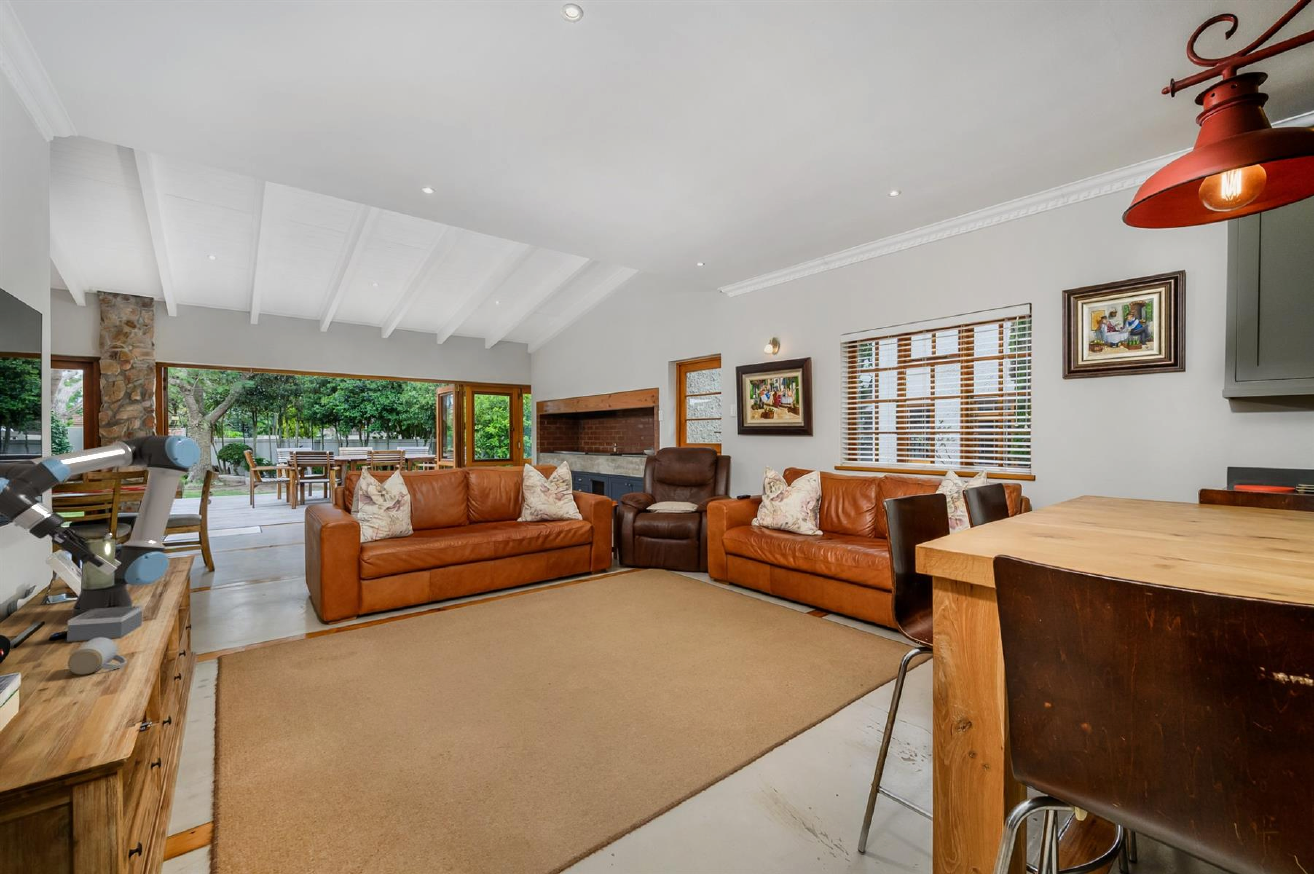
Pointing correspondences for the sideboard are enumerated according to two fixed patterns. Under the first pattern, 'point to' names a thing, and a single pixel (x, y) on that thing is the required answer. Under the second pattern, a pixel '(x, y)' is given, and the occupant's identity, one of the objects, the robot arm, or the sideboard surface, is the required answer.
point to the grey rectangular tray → (104, 623)
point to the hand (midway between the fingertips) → (114, 569)
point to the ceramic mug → (95, 657)
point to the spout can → (90, 573)
